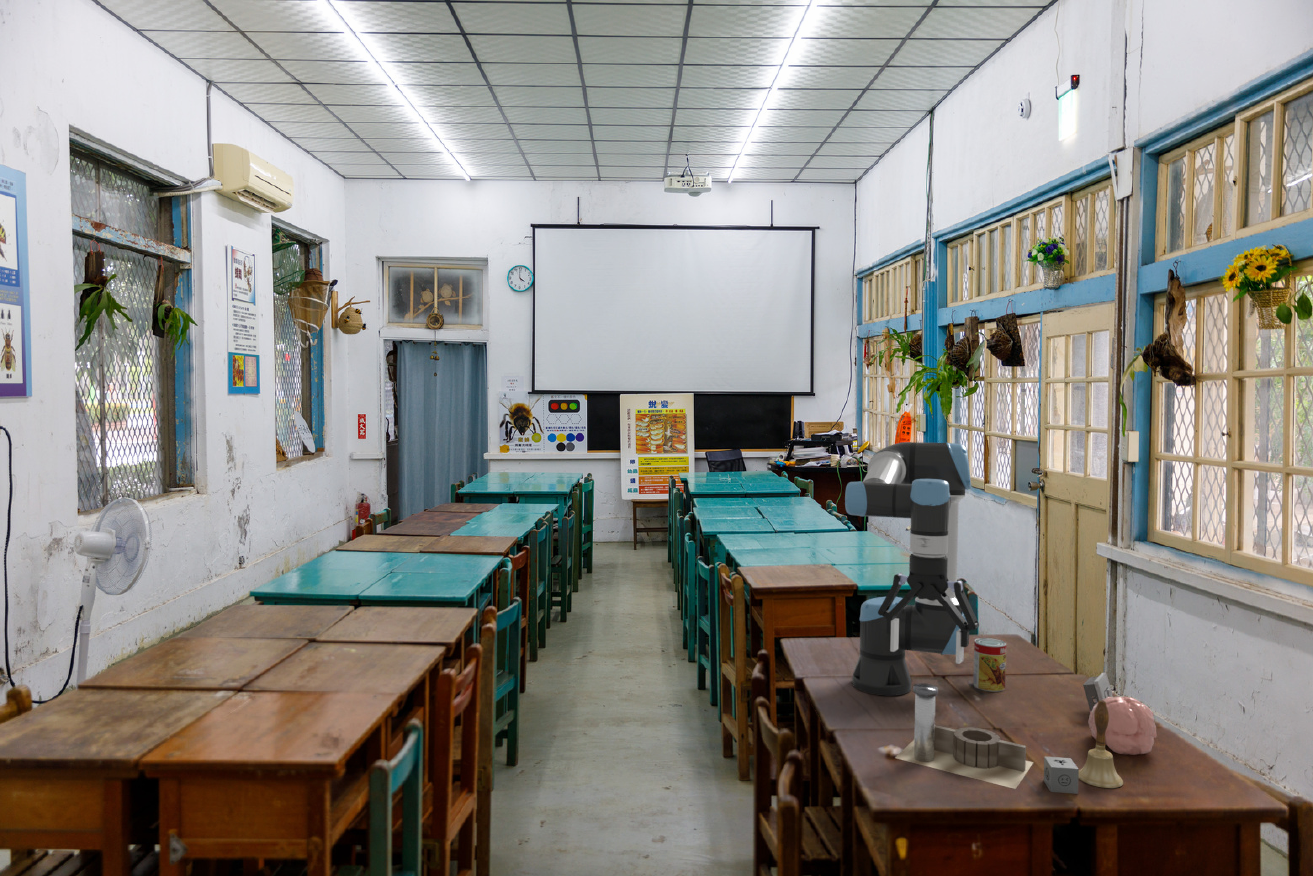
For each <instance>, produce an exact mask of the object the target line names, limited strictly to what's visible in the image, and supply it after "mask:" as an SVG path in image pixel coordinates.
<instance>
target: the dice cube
mask: <svg viewBox="0 0 1313 876" xmlns="http://www.w3.org/2000/svg"><path fill="white" fill-rule="evenodd" d="M1079 770H1080V768H1078V766H1077V764H1075V762H1074V761H1073V759H1072V758H1071V757H1057V756H1043V782H1044V783H1045V785H1046V787H1047V788H1048V790H1049V792H1050V793H1051V792H1052V793H1066V794H1074V795H1075V794H1076V795H1077V794H1079V778H1078V776H1079Z"/></svg>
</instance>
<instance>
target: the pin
mask: <svg viewBox="0 0 1313 876" xmlns="http://www.w3.org/2000/svg"><path fill="white" fill-rule="evenodd" d="M912 692H913V693H914V695H915V698H914V733H913V735H914V737H913V738H914V739H913V740H914V758H915V759H916V760H918V761H921V762H932V761H934V737H935V725H936V724H935V723H936V696H937V695H939V688H938V687H937V686H936V685H933V684H931V683H930V684H929V683H916V684H913V685H912Z"/></svg>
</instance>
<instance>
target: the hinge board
mask: <svg viewBox="0 0 1313 876" xmlns="http://www.w3.org/2000/svg"><path fill="white" fill-rule="evenodd" d="M1001 739H1002V738H1001V737H1000V736H999V735H998V734H997V733H995V732H994V731H991V730H988V729H984V728H980V727H971V726H970V727H968V726H967V727H960V728H957V729H954V728H950V727H945V726H941V725H937V724H935V737H934V761H932V762H921V761H918V760H916V759H915V758H914V739H913V740H912V741H911V742H910V743H908V744H907V745H906V747H904V748H903V749H902V750H901V751H900V752H899V753H898V754H897V755H896V756H895V757H894V759H897V760H902V761H905V762H909V763H913V764H917V765H919V766H923V767H928V768H932V769H935V770H939V771H944V772H947V773H951V774H955V775H958V776H959V775H960V776H963V777H966V778H971V779H975V780H979V781H982V782H986V783H990V784H994V785H999V786H1001V787H1005V788H1009V789H1013V790H1017V788H1018V787H1019V785H1020V783H1021V782H1022V781H1023V779H1024V778H1025V776H1026V775H1027V774H1028V771H1029V770H1030V769H1031V767H1032V766H1033V764H1034V762H1033V761H1030V760H1026V758H1027V745H1023V744H1019V743H1016V742H1015V743H1014V742H1011V741H1006V740H1003V739H1002V740H1001Z"/></svg>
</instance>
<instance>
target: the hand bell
mask: <svg viewBox="0 0 1313 876" xmlns="http://www.w3.org/2000/svg"><path fill="white" fill-rule="evenodd" d="M1094 719H1095V725H1096V729H1097V737H1096V739H1095V748H1092V749H1091V748H1090V749H1089V750H1088V752H1087V757H1086V761H1085V764H1084V765H1083V767H1082V768H1081V769H1079V776H1078V780H1080V781H1081V782H1083V783H1085V784H1087V785H1091V786H1094V787H1096V788H1097V787H1099V788H1103V789H1104V788H1105V789H1116V788H1119V787H1122V786H1123V785H1124V780H1123V779H1122V777H1121V776H1120V775H1119V774H1118V773H1117V770H1116V768H1115V765H1114V764H1115V763H1114V756H1113V754H1112V753H1111V752H1110V751H1108V750H1106V745H1105V732H1106V729H1107V726H1108V722H1109V713H1108V709H1107V706H1106V702H1105V701H1103V700H1099V701H1098V705H1097V707H1096V709H1095V715H1094Z"/></svg>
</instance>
